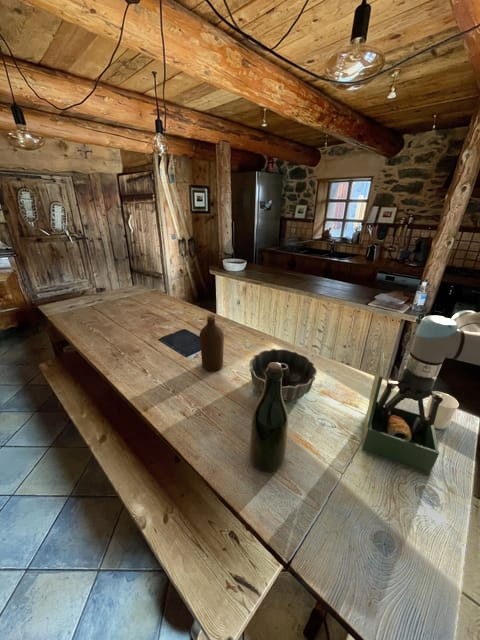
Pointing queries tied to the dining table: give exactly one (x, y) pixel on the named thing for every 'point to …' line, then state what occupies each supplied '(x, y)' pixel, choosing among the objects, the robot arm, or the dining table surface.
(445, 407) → the white cup
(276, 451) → the beer bottle
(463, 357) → the robot arm
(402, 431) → the pastry
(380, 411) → the bin
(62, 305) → the dining table surface
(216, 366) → the olive oil
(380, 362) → the bin lid
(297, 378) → the bundt pan
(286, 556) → the dining table surface
